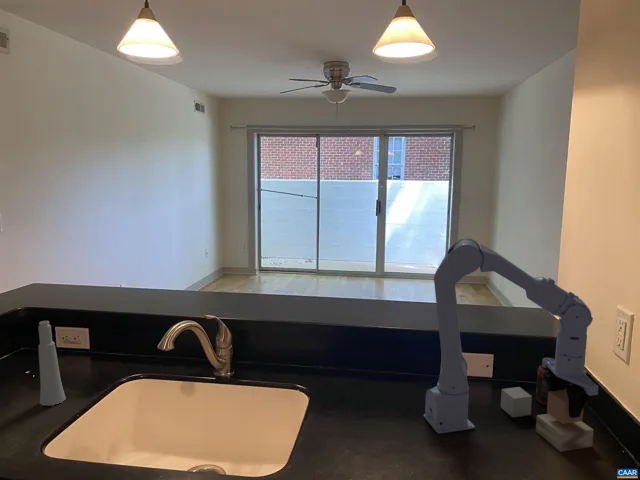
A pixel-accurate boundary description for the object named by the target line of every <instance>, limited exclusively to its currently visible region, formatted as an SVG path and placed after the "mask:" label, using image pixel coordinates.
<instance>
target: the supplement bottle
mask: <svg viewBox="0 0 640 480" xmlns="http://www.w3.org/2000/svg"><path fill="white" fill-rule="evenodd" d="M550 358H551V359H553V360H555V357H554V358H553V357H550ZM548 371H549V368H544V367H543V366H542V364H541V365H539V366H538V368H537V374H536V375H537V377H536V389H535V399H536V401H537V402H538V403H539V404H542V405H544V406H547V403H548V392H549V388H548V385H547V383H546V381H545V379H544V377H543V373H544V372H548Z"/></svg>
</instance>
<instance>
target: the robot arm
mask: <svg viewBox="0 0 640 480" xmlns="http://www.w3.org/2000/svg"><path fill="white" fill-rule="evenodd" d="M478 269H479V271H480V272H481V273H486V272H487V273H489V272H490V273H491V272H494V273H496V274H497V275H499V276H501V277H503V278H504V279H506V280H508V281H509V282H511V283H513V284H514V285H517V286H518V287H519V288H521V289H523V290H525V293H526V294H525V296H526V298H527V299H528V300H529V301H531V302H532V303H534V304H535V305H537V306H538V307H541V308H542V309H543V310H545V311H546V312H548V313H549V314H550V315H551V314H552V316H557V317H559V319H558V327H557V330H556V331H557V332H556V344H555V353H554V354H555V356H554V359H555V360H553V359H551V358H552V357H544V358H542V359H541V360H542V362H541V365H542V366H543V367H544V368H549V371H548V372H544V373H543V377H544V379H545V381H546V383H547V385H548V388H549V391H557V390H564V389H566V392H567V395H568V399H569V416H570V417H571V418H576V417H580V414H581V412H582V409H583V410H584V408H583V407H585V405H586V403H587V402H588V401H589V399H591V397H592V396H597V395H598V394H599V385H598V384H596V383H594V381H592V379H591V378H589V376H588V375H587V373H588V372H587V370H586V369H585V363H586V352H587V341H588V340H587V339H588V327H590V325H591V324H592V322H593V317H592V311H591V309H590V308H589V307H588V305H587V304H586V303H585V302H584V301H583V300H582V299H581V298H579V296H578V295H575V294H574V293H573V292H572V291H569V292H568V291H566V290H564V289H563V288H561V287H560V286H558V285H557V284H555V283H556V281H555V280H554V279H553V278H551V277H548V278H546V277H544V276H537V277H533V276H531V275H530V274H528V273H527V272H526V271H525V270H523V269H521V268H520V267H518V266H517V265H516V264H514V263H513V262H511V261H510V260H508V259H507V258H505V257H503V255H501V254H499V253H498V252H496V251H495V250H493V249H491V248H489V247H488V246H486V245H485V244H484V245H483V244H481V243H480V244H479V243H478V242H477V241H476V240H474V239H472V238H467V237H465V238H460V239H458V240H457V241H455V242H454V243H453V245H451V246H450V247H449V248H448V250H447V251H446V254H445V256H444V257H443V259H442V260H441V263H440V264H439V265H438V267H437V269H436V271H435V273H434V277H433V283H434V293H435V302H436V312H437V314H436V315H437V322H438V324H437V325H438V333H439V341H440V342H439V343H440V351H441V353H440V354H441V358H440V359H441V362H440V373H439V376H438V381H437V384H436V386H434V387H432V388H429V389H427V390H426V393H425V409H424V414H423V417H424V419H425V420H426V421H427V422H428V424H429V425H430V426H431V427H432V428H433V430H434V431H435V432H436V433H437V434H445V433H453V432H461V431H465V430H466V431H467V430H474V429H476V426H475V425H474V424H473V423H472V422H471V421H470V420H469V419H468V417H469V416H468V412H469V397H470V396H469V394H470V391H469V390H470V386H469V382H468V376H467V375H468V373H467V372H468V363H467V360H466V359H465V357H464V356H463V347H462V344H461V334H460V333H461V332H460V324H459V323H460V322H459V321H460V320H459V313H458V303H457V302H458V301H457V293H456V292H457V291H456V285H457V283H458V282H459V281H460V280H461V279H463V277H465V276H467V275H471V274H473V273H474V272H476V271H477V270H478ZM568 382H569V383H572V384H573V385H571V386H566V385H567V383H568Z"/></svg>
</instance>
